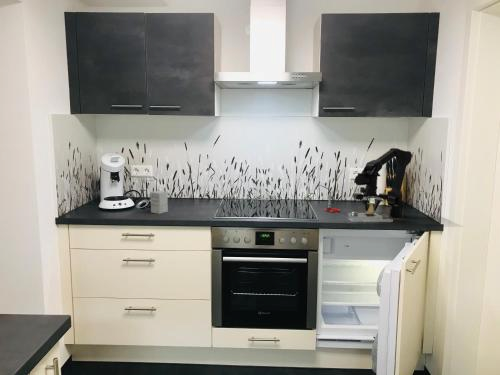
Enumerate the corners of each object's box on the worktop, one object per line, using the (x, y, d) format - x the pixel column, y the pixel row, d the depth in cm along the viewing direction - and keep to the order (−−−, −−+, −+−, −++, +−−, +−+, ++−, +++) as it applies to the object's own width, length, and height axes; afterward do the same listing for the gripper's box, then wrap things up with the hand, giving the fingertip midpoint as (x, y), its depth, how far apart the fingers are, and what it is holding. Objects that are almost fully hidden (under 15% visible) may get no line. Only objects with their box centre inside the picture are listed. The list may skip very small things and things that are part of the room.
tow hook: (332, 209, 262) (322, 210, 257) (333, 189, 261) (324, 190, 255) (342, 211, 256) (333, 213, 250) (344, 191, 254) (334, 192, 248)
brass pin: (372, 218, 234) (372, 202, 233) (374, 219, 230) (375, 204, 229) (365, 218, 234) (366, 202, 233) (367, 219, 230) (368, 204, 229)
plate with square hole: (386, 218, 237) (386, 210, 237) (392, 222, 227) (393, 214, 227) (347, 217, 237) (347, 210, 236) (352, 221, 227) (352, 214, 226)
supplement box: (159, 210, 252) (158, 190, 250) (168, 211, 248) (167, 191, 246) (150, 212, 245) (150, 191, 244) (159, 213, 242) (159, 193, 240)
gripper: (382, 182, 237) (381, 208, 240) (351, 182, 237) (350, 208, 239) (390, 185, 226) (388, 212, 228) (357, 185, 226) (355, 212, 228)
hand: (370, 211), depth 231 cm, fingers open, 5 cm apart
